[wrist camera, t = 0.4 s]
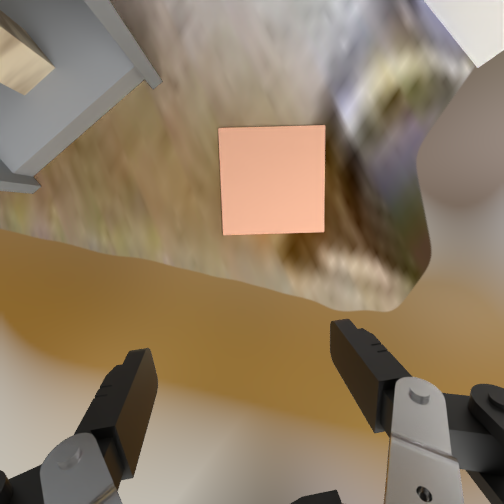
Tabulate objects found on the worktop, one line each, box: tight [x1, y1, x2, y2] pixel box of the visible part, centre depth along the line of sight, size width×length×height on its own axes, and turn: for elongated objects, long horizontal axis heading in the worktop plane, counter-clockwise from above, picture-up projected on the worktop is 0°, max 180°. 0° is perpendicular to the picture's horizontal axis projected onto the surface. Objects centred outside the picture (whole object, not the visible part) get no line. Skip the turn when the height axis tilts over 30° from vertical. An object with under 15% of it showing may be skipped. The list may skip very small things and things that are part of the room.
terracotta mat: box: [218, 125, 325, 235], centre depth 35 cm, size 14×14×1 cm
